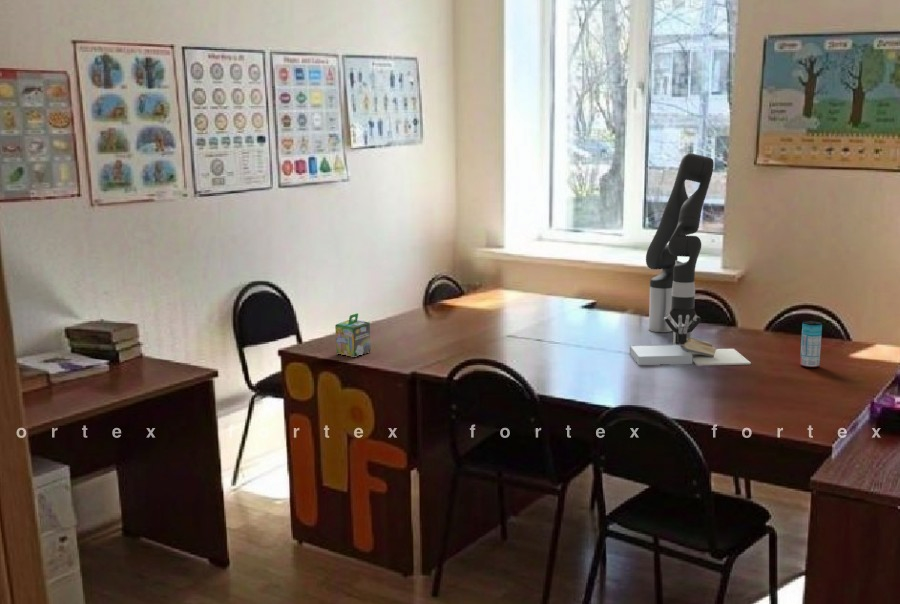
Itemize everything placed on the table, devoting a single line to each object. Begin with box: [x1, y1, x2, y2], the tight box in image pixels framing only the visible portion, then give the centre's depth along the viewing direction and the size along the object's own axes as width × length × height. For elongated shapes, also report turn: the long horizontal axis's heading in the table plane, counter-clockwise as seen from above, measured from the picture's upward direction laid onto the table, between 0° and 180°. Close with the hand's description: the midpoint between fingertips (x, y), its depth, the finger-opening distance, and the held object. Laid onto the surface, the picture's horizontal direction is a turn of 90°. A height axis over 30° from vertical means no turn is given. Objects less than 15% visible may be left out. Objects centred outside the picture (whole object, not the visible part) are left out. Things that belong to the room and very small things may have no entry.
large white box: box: [629, 343, 693, 366], centre depth 303 cm, size 14×18×3 cm
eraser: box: [680, 337, 717, 357], centre depth 302 cm, size 6×10×4 cm, turn 98°
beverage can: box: [799, 319, 823, 369], centre depth 288 cm, size 6×6×15 cm
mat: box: [688, 348, 752, 367], centre depth 303 cm, size 18×18×1 cm
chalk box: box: [334, 313, 371, 356], centre depth 317 cm, size 9×9×15 cm
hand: (681, 343), depth 301 cm, fingers closed
